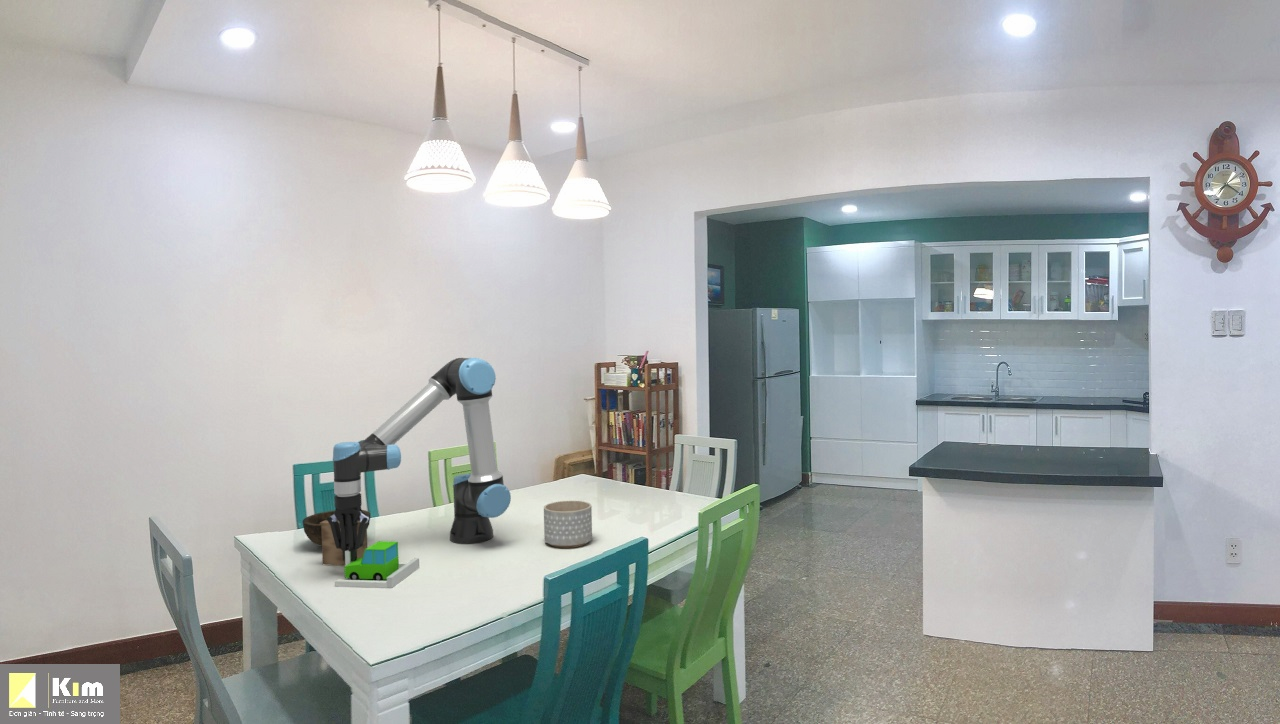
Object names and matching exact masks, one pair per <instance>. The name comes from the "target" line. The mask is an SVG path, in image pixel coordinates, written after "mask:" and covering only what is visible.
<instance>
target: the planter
mask: <svg viewBox="0 0 1280 724" xmlns="http://www.w3.org/2000/svg"><path fill="white" fill-rule="evenodd" d="M592 507H593V506H592V504H591V503H590V502H587V501H584V500H583V501H582V500H561V501H559V500H558V501H554V502H550V503H547V504H545V505H544V506H543V528H544V529H543V531H544V535H543V537H544V542H545V543H546V544H548V545H550V546H551V547H555V548H561V549H562V548H563V549H568V548H579V547H582V546H584V545H586V544H587V543H589V542H590V541H592V539H593V519H592V517H593V516H592V514H593V513H592Z"/></svg>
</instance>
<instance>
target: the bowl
mask: <svg viewBox="0 0 1280 724" xmlns="http://www.w3.org/2000/svg"><path fill="white" fill-rule="evenodd" d="M362 511H363V514H364V515H365V516H370V517H371V512H369V511H368V510H363V509H362ZM334 512H335V509H334V510H328V511H322V512H319V513H314V514H311V515H309V516H306V517H304V518H303V520H302V521H301V522H302V525H303V526H302V527H303V532H304V533H305V536H306V538H308V540H310V542H312V543H314V544H316V545H317V546H321V547H322V531H321V525H320V522H322V521H324V520H327V518H328V517H330V516H332V515H334ZM337 521H338V519H337ZM358 521H360V519H359V520H358ZM370 521H371V519H370V520H369V522H368V524H367V529H368V528H369V526H370V523H371V522H370Z"/></svg>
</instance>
